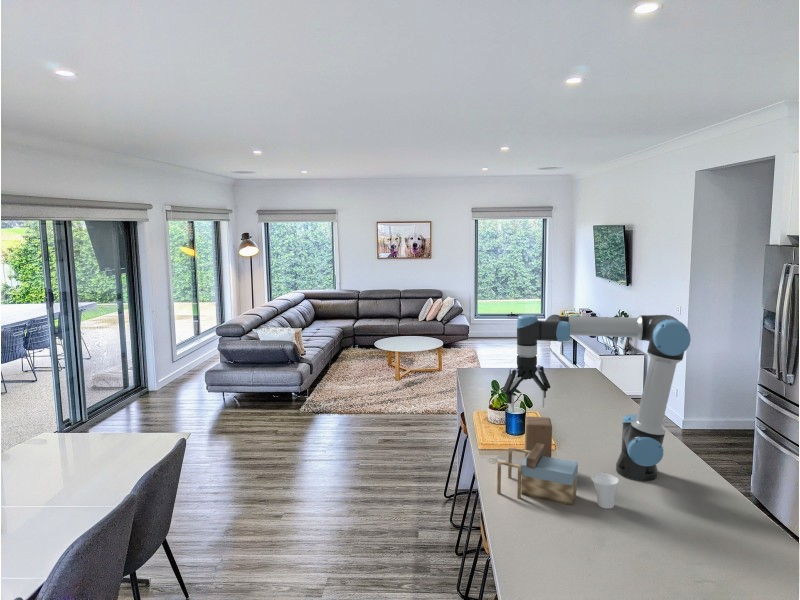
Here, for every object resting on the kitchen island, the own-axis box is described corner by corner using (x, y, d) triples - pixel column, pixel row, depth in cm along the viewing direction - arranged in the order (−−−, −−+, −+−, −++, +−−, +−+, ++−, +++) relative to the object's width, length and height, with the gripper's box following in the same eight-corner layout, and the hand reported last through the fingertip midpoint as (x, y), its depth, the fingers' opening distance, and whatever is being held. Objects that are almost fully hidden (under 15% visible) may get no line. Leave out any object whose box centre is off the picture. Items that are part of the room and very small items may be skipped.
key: (544, 453, 204) (544, 444, 203) (534, 468, 191) (534, 459, 190) (536, 451, 205) (536, 442, 205) (526, 467, 192) (526, 457, 191)
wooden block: (551, 474, 213) (552, 425, 211) (525, 472, 215) (526, 424, 213) (549, 463, 223) (550, 416, 220) (524, 461, 225) (525, 415, 222)
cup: (617, 500, 193) (618, 473, 191) (618, 513, 184) (619, 485, 183) (590, 496, 195) (591, 470, 194) (590, 509, 187) (592, 481, 185)
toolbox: (577, 491, 200) (578, 459, 198) (570, 509, 186) (571, 476, 185) (508, 476, 212) (509, 447, 210) (497, 493, 198) (497, 461, 197)
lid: (577, 472, 197) (577, 462, 196) (571, 485, 187) (572, 474, 187) (528, 463, 205) (528, 453, 205) (520, 475, 195) (520, 464, 195)
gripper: (548, 350, 215) (547, 401, 217) (493, 356, 206) (493, 410, 209) (560, 354, 208) (559, 407, 210) (503, 360, 199) (503, 416, 202)
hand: (526, 408), depth 210 cm, fingers open, 13 cm apart
